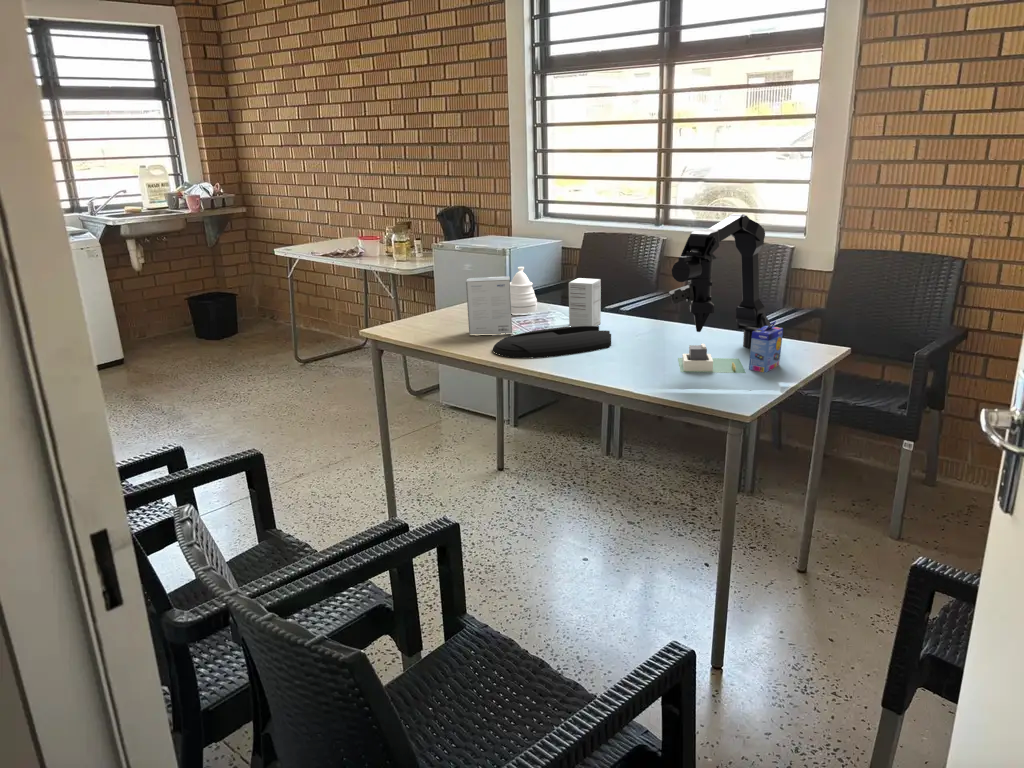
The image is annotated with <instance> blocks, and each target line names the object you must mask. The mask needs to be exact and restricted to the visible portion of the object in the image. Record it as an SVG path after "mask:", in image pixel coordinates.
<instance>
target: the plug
mask: <svg viewBox="0 0 1024 768" xmlns="http://www.w3.org/2000/svg"><path fill="white" fill-rule="evenodd" d="M688 349H689V350H688V354H689V360H706V359H707V354H708V349H707V345H706V344H705V343H701V344H700V345H697V344H695V345H694V344H693V345H692V344H691V345H689V347H688Z"/></svg>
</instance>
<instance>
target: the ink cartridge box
mask: <svg viewBox="0 0 1024 768" xmlns="http://www.w3.org/2000/svg"><path fill="white" fill-rule="evenodd" d="M776 322H777V320H775V321H772V322H770V325H769V326H764V327H762V328H760V329H757V330H755V331H753V332H752V339H751V349H749V350H750V352H749V362H748V370H749V371H750V370H751V371H755V372H761V373H767V372H769V371H771V370H773V369H775V368H777V367H778V366H780V362H781V361H780V359H781V353H782V343H783V335H784V334H783V333H784V328H783V327H780V326H779V327H778V326H775V324H776Z"/></svg>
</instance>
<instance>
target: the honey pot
mask: <svg viewBox="0 0 1024 768" xmlns="http://www.w3.org/2000/svg"><path fill="white" fill-rule="evenodd" d="M517 270H518V271H517V272H516V273H515V274H514V276H513V278H512V279H511V281H510V293H511V313H528V312H534V311H536V310H537V311H538V299H537V297H536V294H535V290H534V288H533V282H532V281H530V279H529V277H528V276H527V274H526V273H525V272H524V270H525V266H518V267H517Z"/></svg>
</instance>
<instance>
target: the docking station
mask: <svg viewBox="0 0 1024 768" xmlns="http://www.w3.org/2000/svg"><path fill="white" fill-rule="evenodd" d="M611 346H612V333H611V330H600V326H599V325H597V326H573V327H569V326H563V327H552V328H544V329H537V330H531V331H525V332H521V333H518V334H512V335H508V336H506V337H503V338H502V339H500V340H499V341H497V342H496V343H495V344H494V345H493V347H492V352H493V351H494V352H495V353H497V354H500V355H503V356H502V357H504V356H509V357H508V358H513V357H543V358H550V357H549V356H553V357H561V355H562V356H568V355H569V354H570V355H575V354H582V353H588V352H594V350H595V351H600V350H604V349H608V348H610V347H611ZM599 349H600V350H599ZM495 353H494V354H495ZM497 354H496V355H497ZM500 355H499V356H500ZM547 356H548V357H547Z"/></svg>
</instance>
